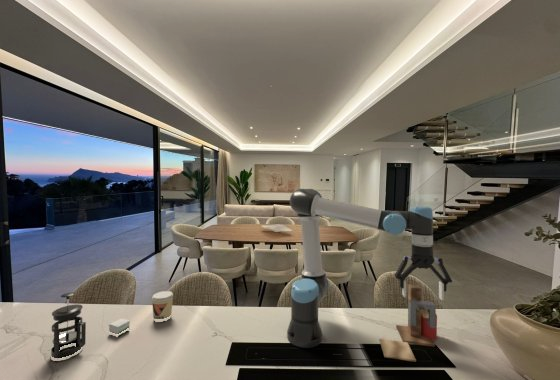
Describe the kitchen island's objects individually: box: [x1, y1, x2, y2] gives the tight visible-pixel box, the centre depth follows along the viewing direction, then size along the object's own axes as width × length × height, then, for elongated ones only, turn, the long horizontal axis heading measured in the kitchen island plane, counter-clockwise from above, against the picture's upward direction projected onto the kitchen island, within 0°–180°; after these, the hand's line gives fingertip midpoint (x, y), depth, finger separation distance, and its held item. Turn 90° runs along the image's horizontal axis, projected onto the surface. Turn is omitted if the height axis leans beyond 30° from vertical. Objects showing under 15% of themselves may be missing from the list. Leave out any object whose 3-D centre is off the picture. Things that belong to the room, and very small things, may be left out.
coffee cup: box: [151, 290, 174, 320], centre depth 119 cm, size 9×9×12 cm
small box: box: [108, 317, 131, 334], centre depth 107 cm, size 6×6×5 cm
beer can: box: [421, 309, 438, 341], centre depth 107 cm, size 7×7×12 cm
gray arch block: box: [407, 300, 437, 328], centre depth 98 cm, size 9×3×9 cm, turn 77°
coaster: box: [379, 338, 417, 363], centre depth 97 cm, size 11×11×1 cm
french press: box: [50, 291, 87, 358], centre depth 94 cm, size 12×9×23 cm
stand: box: [395, 283, 436, 348], centre depth 103 cm, size 12×20×22 cm, turn 167°
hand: (422, 297), depth 98 cm, fingers open, 13 cm apart
